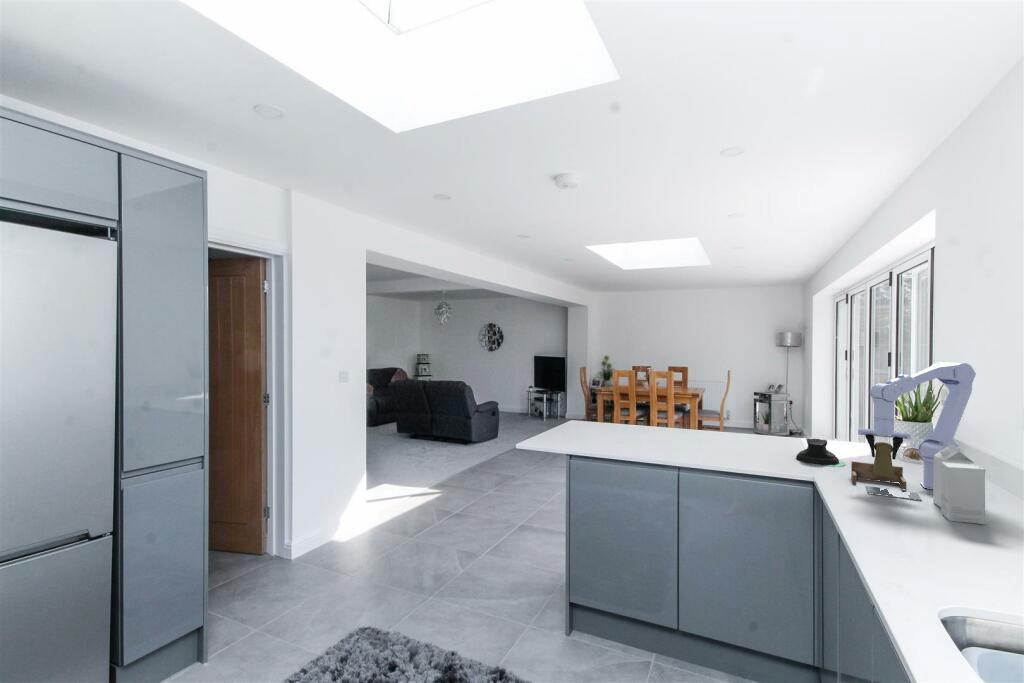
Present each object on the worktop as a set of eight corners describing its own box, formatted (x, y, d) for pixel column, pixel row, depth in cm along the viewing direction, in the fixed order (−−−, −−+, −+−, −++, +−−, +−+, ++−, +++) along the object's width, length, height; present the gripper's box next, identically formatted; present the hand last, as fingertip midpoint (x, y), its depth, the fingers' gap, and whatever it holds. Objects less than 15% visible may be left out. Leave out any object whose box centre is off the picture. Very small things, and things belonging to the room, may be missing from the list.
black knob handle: (781, 455, 220) (781, 435, 220) (825, 456, 220) (825, 435, 220) (809, 467, 200) (809, 444, 200) (857, 467, 200) (857, 444, 200)
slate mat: (917, 493, 165) (917, 492, 165) (921, 501, 157) (921, 499, 157) (865, 486, 172) (865, 485, 172) (867, 493, 165) (867, 492, 165)
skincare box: (976, 518, 143) (976, 464, 143) (986, 525, 137) (987, 469, 136) (939, 513, 146) (939, 460, 146) (948, 521, 140) (948, 466, 140)
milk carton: (960, 505, 154) (961, 444, 154) (973, 512, 147) (974, 448, 147) (932, 502, 156) (933, 442, 156) (944, 510, 149) (944, 447, 149)
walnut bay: (902, 483, 177) (902, 466, 177) (906, 490, 168) (906, 473, 168) (851, 477, 185) (851, 461, 185) (852, 483, 176) (853, 466, 176)
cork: (898, 477, 169) (898, 445, 168) (879, 476, 169) (879, 444, 169) (886, 471, 175) (887, 440, 174) (868, 471, 175) (868, 440, 175)
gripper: (858, 418, 172) (858, 457, 172) (912, 422, 164) (911, 463, 164) (857, 415, 178) (857, 453, 178) (909, 419, 170) (908, 458, 170)
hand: (883, 457), depth 172 cm, fingers closed on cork, 5 cm apart
